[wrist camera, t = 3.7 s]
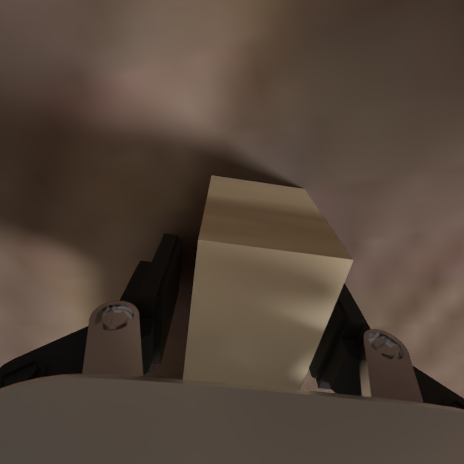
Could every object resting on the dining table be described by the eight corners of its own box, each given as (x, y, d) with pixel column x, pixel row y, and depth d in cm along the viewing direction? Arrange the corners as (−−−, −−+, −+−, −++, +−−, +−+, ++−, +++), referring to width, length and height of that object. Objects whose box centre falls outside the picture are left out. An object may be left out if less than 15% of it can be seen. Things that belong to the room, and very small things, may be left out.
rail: (211, 175, 11) (193, 265, 5) (304, 188, 11) (373, 287, 6) (182, 419, 18) (161, 559, 13) (238, 423, 18) (240, 563, 13)
